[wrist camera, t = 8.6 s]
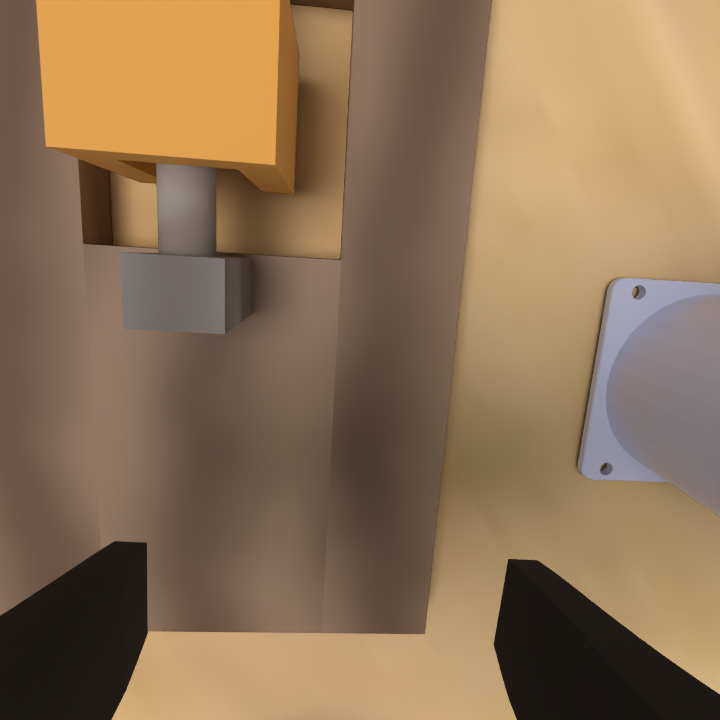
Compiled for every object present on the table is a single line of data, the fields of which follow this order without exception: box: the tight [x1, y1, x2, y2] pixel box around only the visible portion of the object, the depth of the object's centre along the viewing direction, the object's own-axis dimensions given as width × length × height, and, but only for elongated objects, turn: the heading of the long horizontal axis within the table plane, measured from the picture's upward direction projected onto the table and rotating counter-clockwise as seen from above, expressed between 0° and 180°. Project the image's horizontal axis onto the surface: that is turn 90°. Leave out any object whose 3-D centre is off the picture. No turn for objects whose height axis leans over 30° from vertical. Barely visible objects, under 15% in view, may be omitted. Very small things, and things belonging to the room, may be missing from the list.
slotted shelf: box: [0, 0, 492, 634], centre depth 14 cm, size 16×24×6 cm, turn 176°
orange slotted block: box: [36, 0, 299, 194], centre depth 12 cm, size 5×4×5 cm
